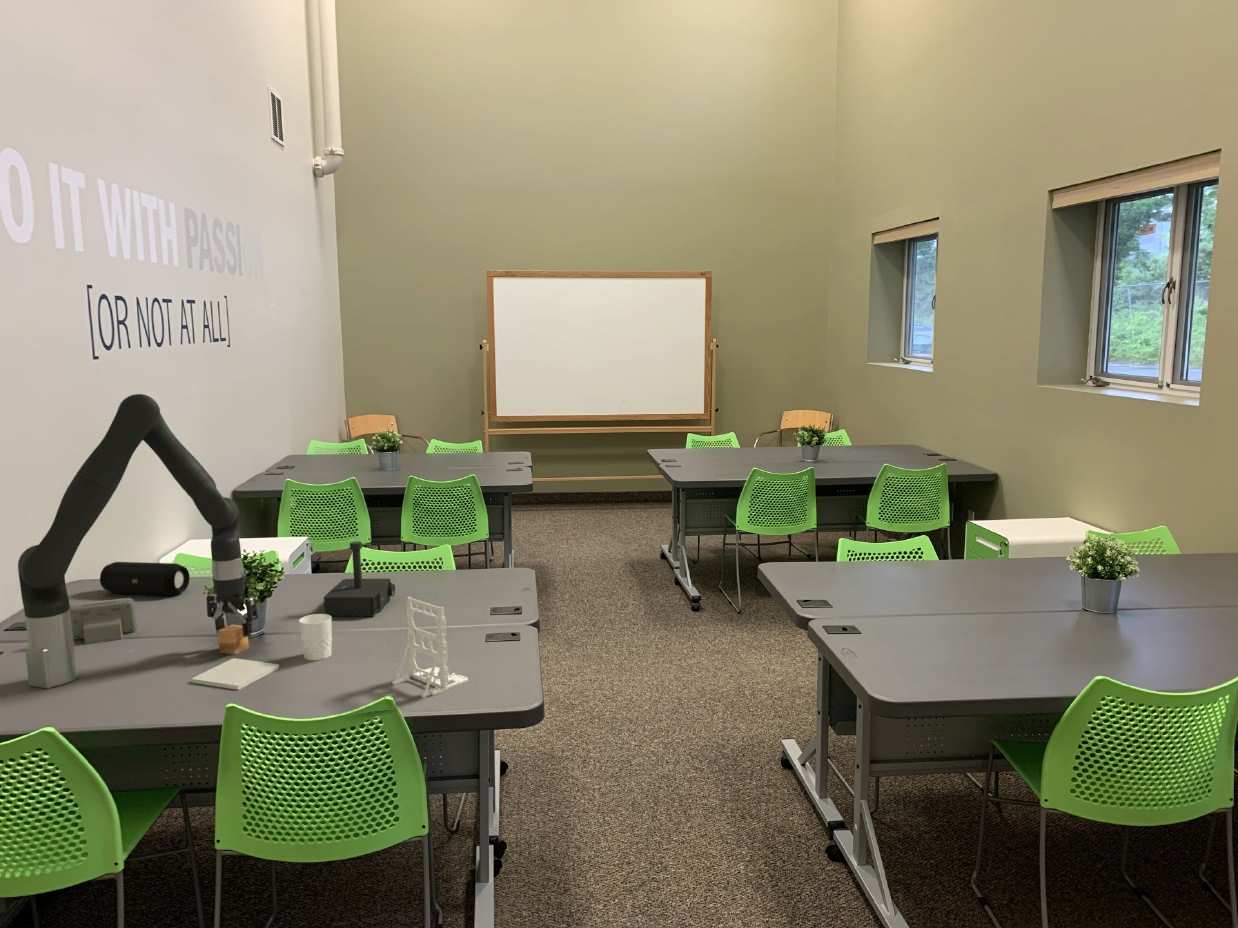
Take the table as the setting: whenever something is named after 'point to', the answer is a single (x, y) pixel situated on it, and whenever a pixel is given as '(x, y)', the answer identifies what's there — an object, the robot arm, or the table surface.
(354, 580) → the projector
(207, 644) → the table surface
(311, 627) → the white cup
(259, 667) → the pad
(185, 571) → the portable speaker
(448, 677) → the film strip holder
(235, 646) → the orange block
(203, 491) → the robot arm
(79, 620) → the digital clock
